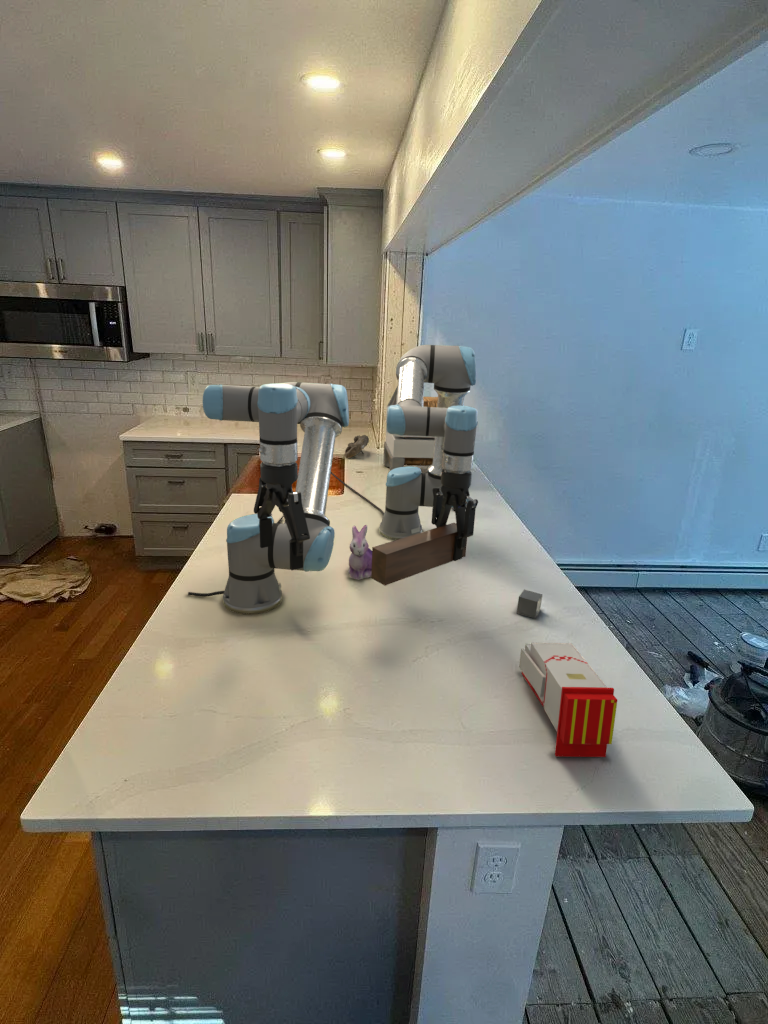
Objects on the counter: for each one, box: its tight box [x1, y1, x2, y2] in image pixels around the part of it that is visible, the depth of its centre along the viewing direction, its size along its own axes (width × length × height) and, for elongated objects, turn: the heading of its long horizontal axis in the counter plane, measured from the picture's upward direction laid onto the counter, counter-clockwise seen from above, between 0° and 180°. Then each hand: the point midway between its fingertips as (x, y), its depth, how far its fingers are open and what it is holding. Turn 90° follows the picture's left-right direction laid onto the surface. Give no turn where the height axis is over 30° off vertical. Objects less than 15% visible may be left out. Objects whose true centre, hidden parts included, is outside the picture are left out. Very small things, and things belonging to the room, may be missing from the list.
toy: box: [518, 642, 618, 758], centre depth 113 cm, size 12×13×30 cm
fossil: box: [344, 434, 370, 459], centre depth 303 cm, size 22×10×15 cm
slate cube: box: [516, 588, 543, 619], centre depth 151 cm, size 5×5×5 cm
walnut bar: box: [370, 522, 468, 587], centre depth 140 cm, size 5×28×8 cm, turn 131°
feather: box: [276, 515, 284, 523], centre depth 209 cm, size 2×28×2 cm
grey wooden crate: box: [383, 385, 438, 472], centre depth 268 cm, size 34×33×41 cm
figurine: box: [347, 524, 372, 580], centre depth 166 cm, size 9×10×15 cm
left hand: (280, 557), depth 123 cm, fingers open, 13 cm apart
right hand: (449, 555), depth 148 cm, fingers closed on walnut bar, 5 cm apart
